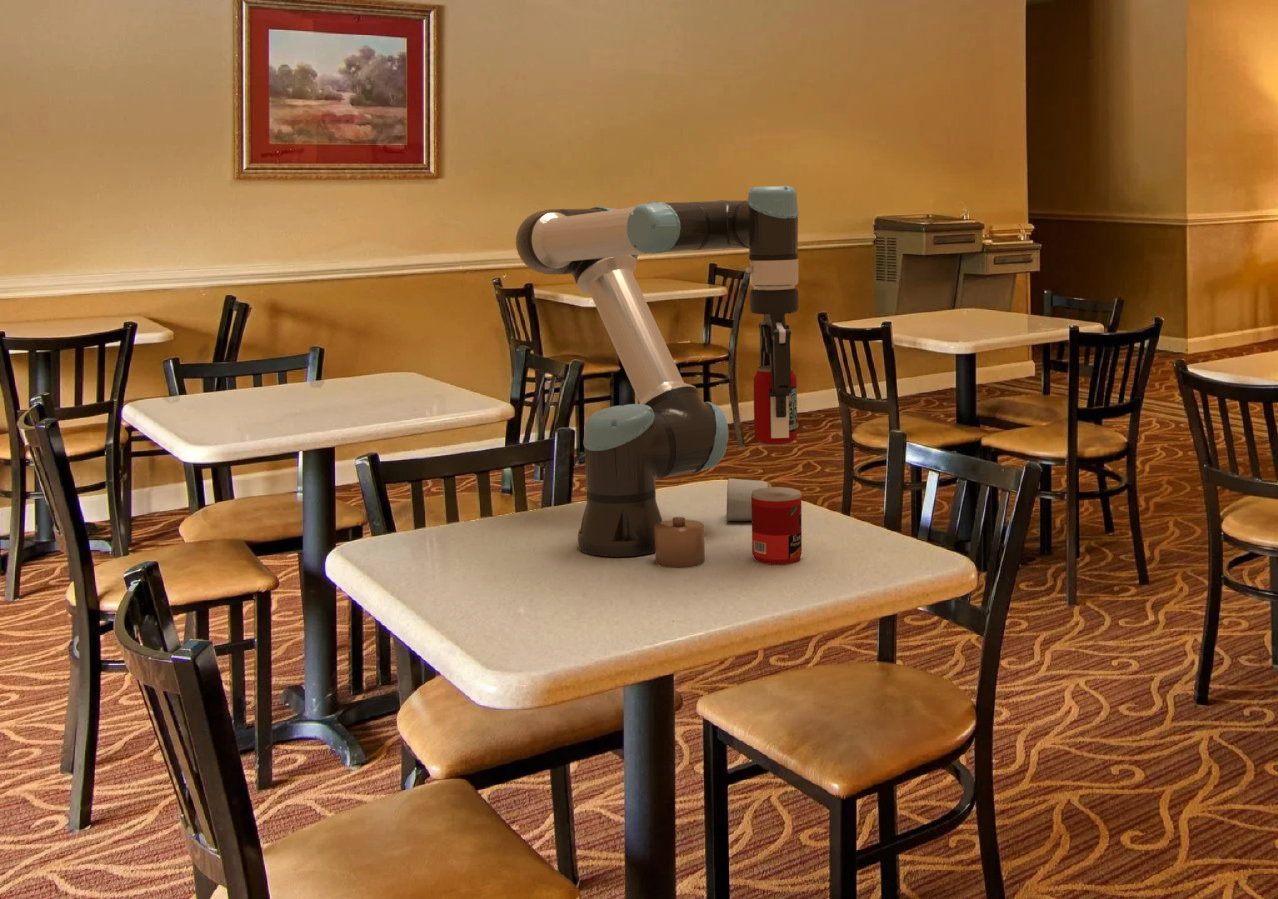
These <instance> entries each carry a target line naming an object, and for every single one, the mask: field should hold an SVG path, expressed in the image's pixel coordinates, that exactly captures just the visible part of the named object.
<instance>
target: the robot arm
mask: <svg viewBox="0 0 1278 899" xmlns="http://www.w3.org/2000/svg"><path fill="white" fill-rule="evenodd" d="M797 194H798V193H797V191H796V189H795V188H794V187H793V186H791V185H790V186H789V185H780V186H779V185H778V186H777V185H776V186H774V185H773V186H772V185H771V186H755V187H751V188H749V190H748V196H747V200H727V199H726V200H725V199H724V200H723V199H721V200H709V201H707V200H705V201H688V202H687V201H686V202H685V201H683V202H681V201H680V202H662V201H652V202H647V203H640V204H638V205H636V206H632V207H625V208H613V207H612V208H608V207H603V206H595V207H591V208H562V209H560V208H559V209H555V208H554V209H544V210H540V211H536V212H534V213H531V215H529V216H527V217H526V218H525V219H524V220H523V221H522V222H521V223H520V225H519V227H518V229H517V232H516V235H515V248H516V251H517V254H518V256H519V258H520V260H521V261H522V262H523V264H524V265H525V266H527V267H528V268H530V269H531V270H533V271H535V272H537V273H539V274H542V275H552V276H553V275H554V276H555V275H571V276H572V277H573V280H574V281H575V283H576V285H577V288H578V290H580V291H581V292H583V293H586V294H589V295H590V297H591V298H592V301H593V303H594V305H595V307H596V310H597V312H598V314H599V316H600V318H601V320H602V323H603V325H604V327H605V329H606V331H607V334H608V336H609V338H610V341H611V343H612V345H613V347H614V349H615V351H616V354H617V356H618V359H619V360H620V362H621V364H622V367H623V369H624V372H625V373H626V376H627V378H628V380H629V382H630V385H631V387H632V389H633V391H634V393H635V396H636V397H637V398H636V399H637V400H638V402H639V403H628V404H624V405H614V406H610V407H605V408H602V409H599V410H597V411H595V412H593V413H591V414H589V416H588V417H587V419H586V420H585V422H584V432H583V433H584V434H583V435H584V436H583V440H582V443H583V447H584V464H585V465H584V466H585V486H586V487H585V491H586V505H585V508H584V512H583V515H582V519H581V525H580V529H579V530H578V533H577V548H578V549H579V551H580V552H583V553H585V554H588V555H593V556H600V557H608V558H609V557H611V558H612V557H614V558H616V557H618V558H619V557H622V558H623V557H636V556H642V555H643V556H645V555H648V554H653V553H655V535H654V525H655V524H657V523H659V522H663V519H662V518H663V517H662V515H661V512H660V509H659V506H658V503H657V498H656V497H657V496H656V480H658V479H659V480H660V479H665V478H671V477H675V476H681V475H687V474H697V473H700V472H701V471H705V470H708V469H712V468H714V467H715V466H717V465H718V464H719V463H720V462H721V460H723V458H724V456H725V454H726V451H727V449H728V441H729V425H728V421H727V417H726V415H725V413H724V411H723V410H722V408H721V407H719V405H718V404H714V403H713V402H710V401H705V402H703V400H702V398H701V395H700V393H699V391H698V389H697V387H696V386H695V385H692V384H690V383H685V382H684V380H683V378H682V375H681V373H680V371H679V369H678V366H677V365H676V363H675V360H674V359H673V356H672V354H671V352H670V349H669V347H668V346H667V343H666V341H665V339H664V337H663V334H662V333H661V331H660V329H659V327H658V325H657V322H656V320H655V318H654V316H653V314H652V311H651V309H650V307H649V305H648V303H647V301H646V298H645V296H644V294H643V291H642V290H641V288H640V285H639V283H638V282H637V280H636V276H634V273H635V270H636V268H637V264H638V263H637V259H638V256H639V255H646V254H651V255H652V254H653V255H654V254H662V253H663V254H664V253H672V252H673V253H674V252H686V251H705V250H721V249H722V250H725V249H749V250H748V251H749V252H748V253H749V255H748V260H749V265H750V266H746V267H745V272H746V273H748V274H749V273H750V274H749V284H750V285H751V286H752V287H753V288H752V289H750V291H749V310H750V312H751V313H752V314H756V315H763V321H762V322H759V324H758V328H759V329H758V330H759V367H761V366H770V370H771V383H772V392H769V393H768V397H770V400H771V438H789V394H791V392H792V388H791V367H792V366H791V364H792V363H791V361H792V360H791V335H792V331H791V328H790V326H789V325H788V324H787V325H786V317H785V315H786V314H795V313H798V311H799V290H798V288H796V287H795V286H796V285H797V286H798V284H799V254H798V253H799V250H798V248H799V242H798V240H799V238H798V236H799V230H798V229H799V216H800V215H799V213H800V212H799V209H798V208H799V207H798V196H797Z"/></svg>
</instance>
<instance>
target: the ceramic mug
mask: <svg viewBox="0 0 1278 899" xmlns="http://www.w3.org/2000/svg"><path fill="white" fill-rule="evenodd" d="M769 487H773V486H772V484H771V483H770V482H769V481H764V480H754V479H753V480H752V479H742V478H741V479H740V478H739V479H738V478H728V479H727V484H726V521H727V522H752V514H751V495H752V491H754V490H756V489H761V488H769Z"/></svg>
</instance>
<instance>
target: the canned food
mask: <svg viewBox="0 0 1278 899" xmlns="http://www.w3.org/2000/svg"><path fill="white" fill-rule="evenodd" d="M802 510H803V509H802V491H800V490H798V489H795V488H792V487H783V486H782V487H781V486H774V487H773V486H772V487H769V488H761V489H756V490H754V491H752V495H751V514H752V521H751V552H752V553H751V554H752V557H753V559H754V560H755V561H756V562H758V563H761V564H766V565H788V564H794V563H797V562H798V561H800V560H801V557H802V553H803V552H802V550H803V549H802V548H803V547H802V546H803V545H802V544H803V543H802V542H803V541H802V539H803V538H802V537H803V536H802V532H803V531H802V529H803V528H802V522H803V521H802V520H803V519H802Z"/></svg>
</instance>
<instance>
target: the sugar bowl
mask: <svg viewBox="0 0 1278 899" xmlns="http://www.w3.org/2000/svg"><path fill="white" fill-rule="evenodd" d="M662 521H663V520H662ZM654 535H655V552H654V560H655V561H654V562H655V564H656V565H657V566H660V567H663V568H669V569H688V568H694V567H698V566H702V565H703V564H704V563H705V560H706V555H705V554H706V552H705V549H706V548H705V524H704V523H703V522H702V521H699V520H698V521H697V520H693V519H686V517H684V516H675V517H673V518H672V519H670V520H664V521H663V522H659V523H657V524H655V525H654Z"/></svg>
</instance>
